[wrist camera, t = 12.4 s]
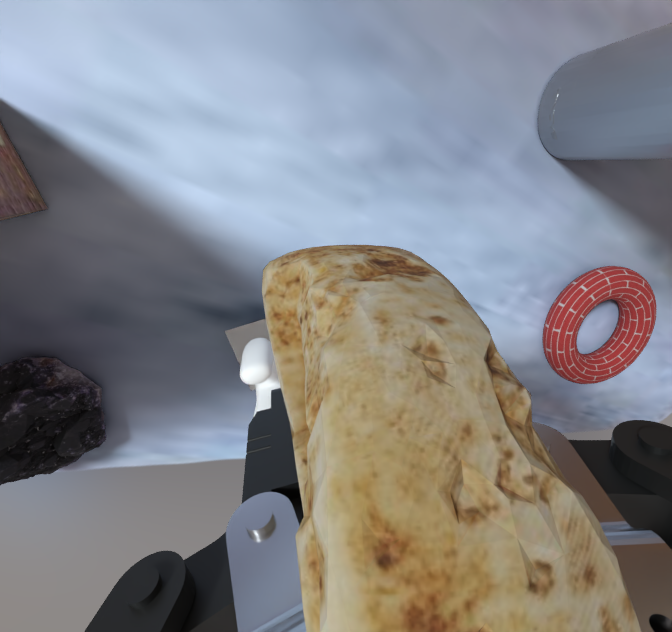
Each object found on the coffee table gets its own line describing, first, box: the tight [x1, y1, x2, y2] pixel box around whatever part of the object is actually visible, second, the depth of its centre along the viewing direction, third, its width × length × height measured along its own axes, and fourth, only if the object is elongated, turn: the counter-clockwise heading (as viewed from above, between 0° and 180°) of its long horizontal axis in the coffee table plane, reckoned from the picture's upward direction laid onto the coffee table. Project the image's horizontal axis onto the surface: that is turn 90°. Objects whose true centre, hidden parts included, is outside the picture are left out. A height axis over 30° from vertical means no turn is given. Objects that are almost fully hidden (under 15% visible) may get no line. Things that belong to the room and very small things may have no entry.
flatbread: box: [262, 245, 641, 632], centre depth 8 cm, size 10×4×10 cm, turn 7°
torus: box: [543, 266, 656, 384], centre depth 45 cm, size 16×14×4 cm
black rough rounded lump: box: [0, 357, 106, 485], centre depth 34 cm, size 14×14×10 cm
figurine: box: [225, 318, 281, 417], centre depth 32 cm, size 7×9×15 cm
